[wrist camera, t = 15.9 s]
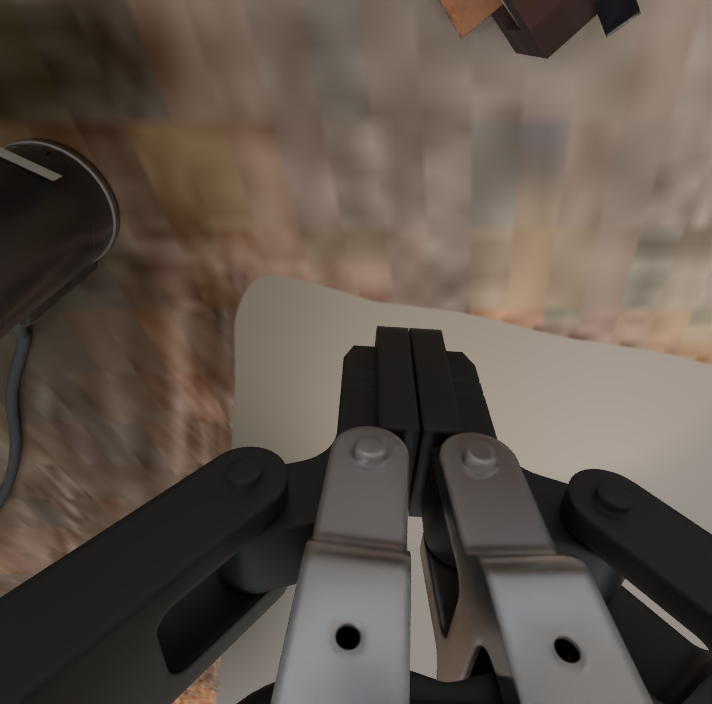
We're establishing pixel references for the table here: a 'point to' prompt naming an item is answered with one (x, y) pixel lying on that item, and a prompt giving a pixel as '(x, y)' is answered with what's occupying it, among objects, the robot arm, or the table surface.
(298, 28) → the table surface
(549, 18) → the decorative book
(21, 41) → the table surface
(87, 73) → the table surface
